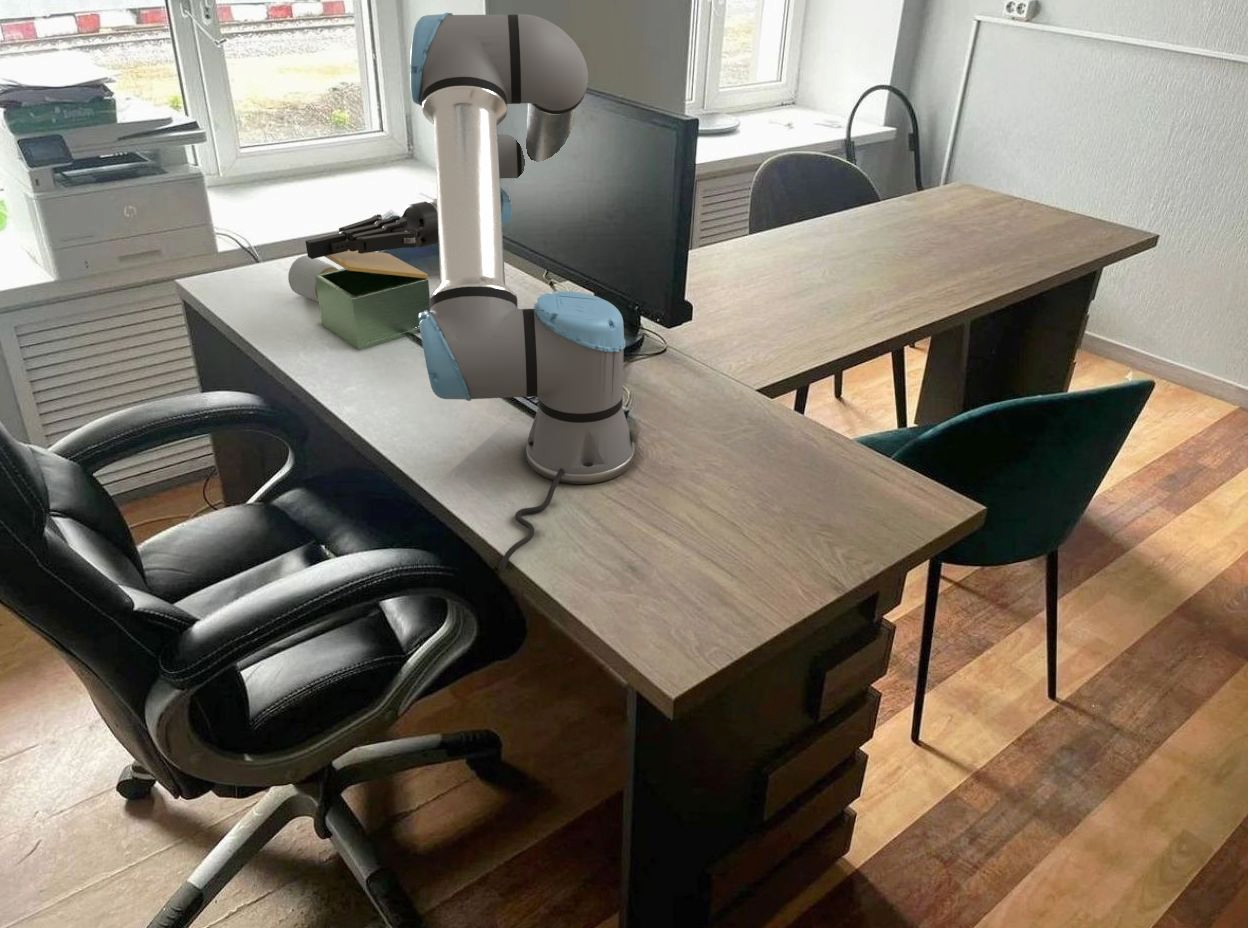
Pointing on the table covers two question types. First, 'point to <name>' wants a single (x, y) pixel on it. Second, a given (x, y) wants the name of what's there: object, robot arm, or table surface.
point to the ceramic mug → (307, 275)
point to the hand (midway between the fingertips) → (308, 249)
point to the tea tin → (371, 305)
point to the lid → (375, 264)
